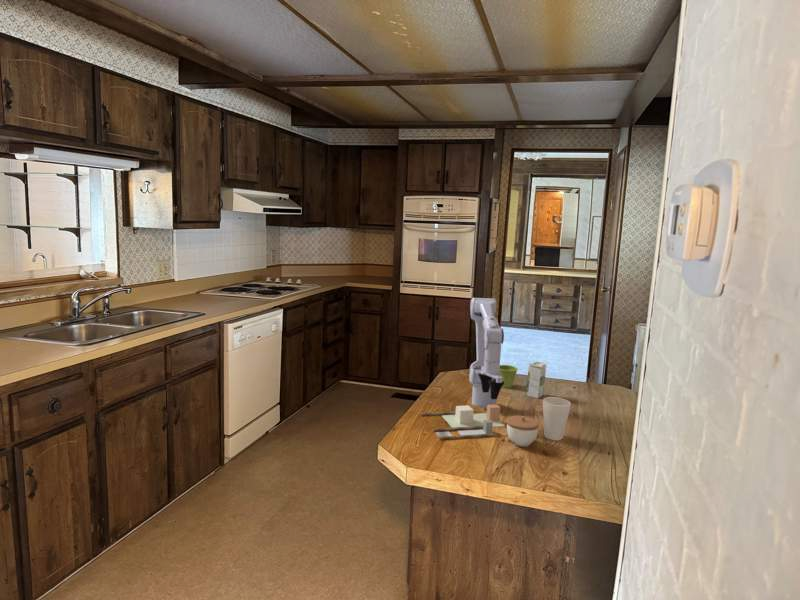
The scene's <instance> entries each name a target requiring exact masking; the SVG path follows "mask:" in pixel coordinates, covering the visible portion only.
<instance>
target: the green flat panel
mask: <svg viewBox="0 0 800 600" xmlns="http://www.w3.org/2000/svg"><path fill="white" fill-rule="evenodd" d="M440 416H441V417H442V418H443V419H444V421H445V422H447V424H448V425H449V426H450V428H454V427H471V426H483V425H484V420H491V421H492V422H493V427H504V428H506V425H505V424H504V423H503V422H502V421H500V419H501V418H500V416H501V406H500V405H498V404H497V403H496V405H487V409H486V412H480V413H473V423H468V424H459V423H458V421H457V420H456V419H455V414H453V415H440Z"/></svg>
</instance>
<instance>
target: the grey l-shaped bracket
mask: <svg viewBox="0 0 800 600" xmlns="http://www.w3.org/2000/svg"><path fill="white" fill-rule="evenodd" d="M457 433H458V434H459V436H460V435H476V434H491V433H493V422H492V421H491V420H484V425H483V429H474V430H457Z"/></svg>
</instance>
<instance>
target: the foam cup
mask: <svg viewBox="0 0 800 600" xmlns="http://www.w3.org/2000/svg"><path fill="white" fill-rule="evenodd" d="M541 405H542V410H543V411H542V412H543V432H544V433H543V435H544V437H545V438H546V439H547V440H550V439H551V441H561V439H562V440H563V439H564V434H565V432H566V427H567V423H568V419H569V414H570V411H571V406H572V403H571V401H570V400H568V399H565V398H562V397H558V396H557V397H555V396H554V397H553V396H548V397H544V398H543V399H542V404H541Z"/></svg>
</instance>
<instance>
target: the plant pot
mask: <svg viewBox="0 0 800 600" xmlns="http://www.w3.org/2000/svg"><path fill="white" fill-rule="evenodd" d="M518 370H519V368H518V367H516V366H514V365H510V364H509V365H508V364H500V369H499V372H500V375H501V377H502V381H503V382H504V385H503V386H502V388H503V389H508V388H510V389H512V388H513V386H514V382H515V378H516V374H517V371H518Z"/></svg>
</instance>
